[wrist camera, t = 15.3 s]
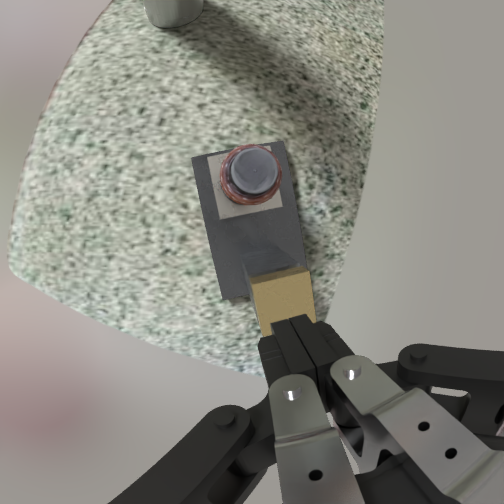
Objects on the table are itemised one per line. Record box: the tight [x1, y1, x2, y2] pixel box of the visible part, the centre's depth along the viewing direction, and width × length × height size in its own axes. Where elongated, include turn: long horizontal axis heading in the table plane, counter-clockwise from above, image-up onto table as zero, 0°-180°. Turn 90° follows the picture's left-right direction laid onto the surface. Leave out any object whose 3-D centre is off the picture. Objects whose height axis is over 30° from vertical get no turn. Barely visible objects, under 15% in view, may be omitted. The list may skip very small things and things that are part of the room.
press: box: [191, 141, 307, 323], centre depth 31 cm, size 19×12×12 cm, turn 12°
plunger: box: [249, 266, 316, 337], centre depth 29 cm, size 5×5×12 cm
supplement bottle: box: [220, 144, 282, 205], centre depth 27 cm, size 6×6×11 cm
